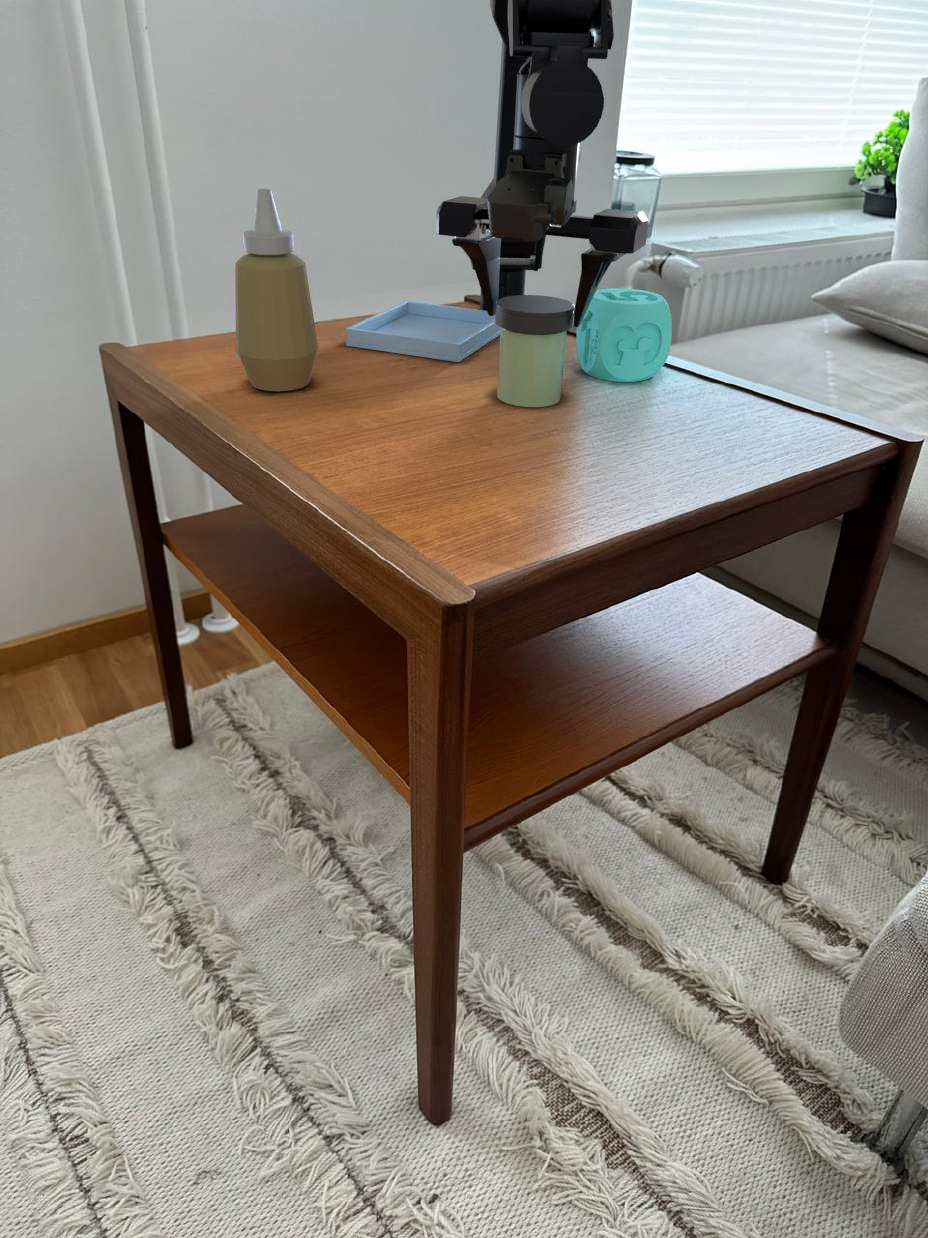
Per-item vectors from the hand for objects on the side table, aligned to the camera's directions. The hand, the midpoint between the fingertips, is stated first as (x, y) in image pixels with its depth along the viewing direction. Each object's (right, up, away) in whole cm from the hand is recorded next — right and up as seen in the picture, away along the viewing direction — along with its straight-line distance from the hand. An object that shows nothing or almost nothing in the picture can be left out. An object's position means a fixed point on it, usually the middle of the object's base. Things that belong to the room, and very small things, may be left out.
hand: (533, 320), depth 86 cm
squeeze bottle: (-25, -5, +5) cm, 26 cm away
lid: (0, +1, -1) cm, 1 cm away
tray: (-11, +5, +22) cm, 25 cm away
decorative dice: (+10, -2, +12) cm, 16 cm away
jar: (0, -6, +4) cm, 8 cm away
